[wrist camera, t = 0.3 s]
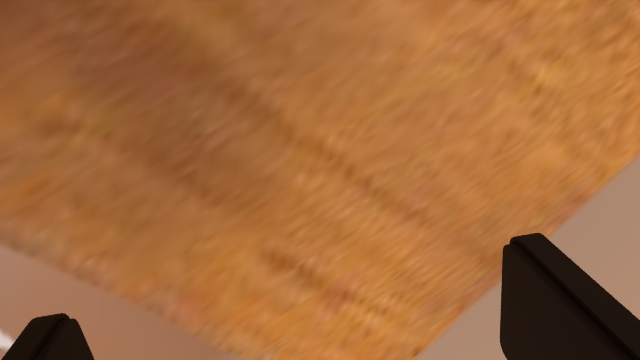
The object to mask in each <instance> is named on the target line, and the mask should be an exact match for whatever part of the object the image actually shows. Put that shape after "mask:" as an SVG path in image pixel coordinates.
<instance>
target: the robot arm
mask: <svg viewBox="0 0 640 360" xmlns="http://www.w3.org/2000/svg"><path fill="white" fill-rule="evenodd" d="M500 321H501V322H500V343H501V348H502V350H503V353H504V355H505V357H506V358H507V360H640V320H639V319H638V318H636V317H635V316H634V315H633V314H632V313H631V312H630V311H629V310H627V309H626V308H625V307H624V306H623V305H622V304H621V303H619V302H618V301H617V300H616V299H615V298H614V297H613V296H612V295H610V294H609V293H608V292H607V291H606V290H605V289H604V288H602V287H601V286H600V285H599V284H598V283H597V282H596V281H595V280H593V279H592V278H591V277H590V276H589V275H588V274H587V273H585V272H584V271H583V270H582V269H581V268H580V267H579V266H577V265H576V264H575V263H574V262H573V261H572V260H571V259H570V258H568V257H567V256H566V255H565V254H564V253H563V252H562V251H561V250H559V249H558V248H557V247H556V246H555V245H554V244H552V243H551V242H550V241H549V240H548V239H547V238H546V237H545V236H544V235H542V234H540V233H534V234H528V235H522V236H516V237H513V238H511V240H510V244H508V245H505V246H504V248H503V261H502V291H501V320H500ZM2 360H94V358H93V356H92V353H91V351H90V348H89V346H88V344H87V342H86V339H85V337H84V335H83V332H82V330H81V328H80V325H79V323H78V322H77V321H76V320H75V319H70V318H69V316H67V315H66V314H63V313H61V314H55V315H48V316H42V317H37V318H34V319H32V320H31V321H30V323H28V325H27V326H26V327H25V329H24V330H23V332H22V333H21V334H20V336H19V337H18V338H17V339H16V341H15V342H14V344H13V345H12V346H11V348H10V349H9V350H8V352H7V353H6V354H5V356H4V357H3V358H2Z"/></svg>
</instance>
